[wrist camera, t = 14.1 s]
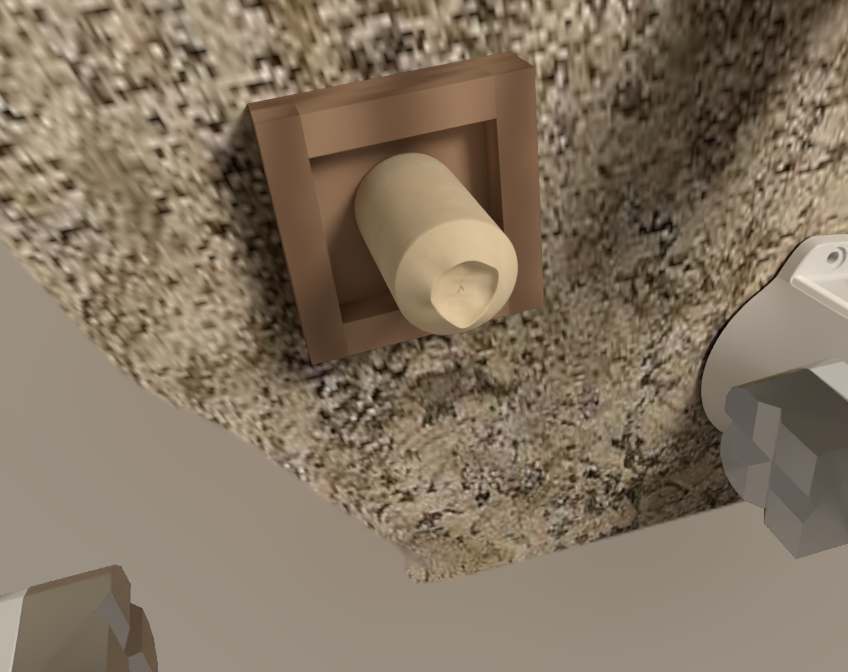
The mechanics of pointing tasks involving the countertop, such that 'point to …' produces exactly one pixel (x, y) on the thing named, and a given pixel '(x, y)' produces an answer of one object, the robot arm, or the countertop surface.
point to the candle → (434, 244)
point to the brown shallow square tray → (373, 142)
